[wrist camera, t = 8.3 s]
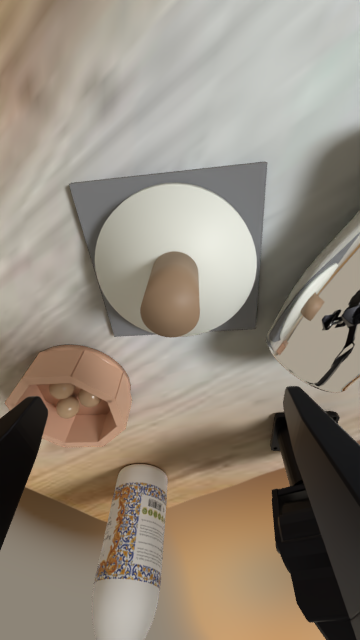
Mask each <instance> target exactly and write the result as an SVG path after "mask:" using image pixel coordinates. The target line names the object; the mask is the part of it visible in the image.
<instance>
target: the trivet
mask: <svg viewBox="0 0 360 640" xmlns="http://www.w3.org/2000/svg"><path fill="white" fill-rule="evenodd" d="M266 173H267V162H258V163H249V164H239V165H230V166H221V167H212V168H203V169H194V170H185V171H176V172H167V173H157V174H148V175H139V176H130V177H121V178H112V179H103V180H94V181H85V182H75V183H70V184H69V187H70V190H71V193H72V197H73V200H74V203H75V207H76V210H77V213H78V217H79V220H80V223H81V227H82V230H83V233H84V237H85V240H86V243H87V247H88V250H89V253H90V257H91V260H92V263H93V267H94V270H95V249H96V244H97V239H98V237H99V234H100V231H101V229H102V227H103V225H104V223H105V222H106V220H107V219H108V217H109V216H110V215H111V213H112V212H113V211H114V210H115V209H116V208H117V207H118V206H119V205H120V204H121V203H122V202H123V201H124V200H126V199H127V198H128V197H130V196H131V195H133V194H134V193H136V192H138V191H140V190H142V189H144V188H147V187H150V186H153V185H156V184H162V183H174V182H179V183H188V184H193V185H197V186H200V187H203V188H205V189H208V190H210V191H212V192H214V193H216V194H217V195H219V196H221V197H222V198H223V199H225V200H226V201H227V202H228V203H229V204H231V205H232V207H233V208H234V209H235V210H236V211H237V212H238V213H239V215H240V216H241V218H242V219H243V221H244V222H245V224H246V226H247V228H248V230H249V232H250V234H251V236H252V239H253V242H254V246H255V250H256V257H257V269H256V277H255V281H254V284H253V287H252V290H251V292H250V294H249V296H248V298H247V300H246V301H245V303H244V304H243V306H242V307H241V308H240V309H239V311H238V312H237V313H236V314H235V315H234V316H233V317H232V318H230V319H229V320H228V321H226V322H225V323H223V324H222V325H220V326H218V327H217V328H215V329H212V330H210V331H225V330H243V329H256V316H257V302H258V288H259V273H260V259H261V244H262V230H263V216H264V201H265V187H266ZM95 273H96V270H95ZM96 277H97V275H96ZM97 280H98V279H97ZM98 283H99V282H98ZM99 287H100V285H99ZM100 290H101V287H100ZM101 293H102V297H103V300H104V303H105V307H106V310H107V313H108V317H109V320H110V323H111V327H112V330H113V333H114V337H117V336H135V335H153V334H154V333H151V332H148V331H145V330H143V329H141V328H139V327H137V326H135V325H133V324H132V323H130V322H129V321H127V320H126V319H125V318H123V317H122V316H121V315H120V314H119V313H118V312H117V311H116V310H115V309H114V308H113V307H112V306H111V304H110V303H109V302H108V300H107V299H106V297H105V295H104V293H103V291H102V290H101Z"/></svg>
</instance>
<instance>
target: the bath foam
mask: <svg viewBox="0 0 360 640" xmlns="http://www.w3.org/2000/svg"><path fill="white" fill-rule="evenodd" d="M167 484H168V479H167V476H166V474H165V473H164V472H163V471H162V470H161V469H159V468H157V467H155V466H152V465H147V464H133V465H129V466H126V467H124V468H123V469H122V470H121V471H120V472H119V474H118V478H117V482H116V487H115V491H114V496H113V500H112V505H111V509H110V514H109V518H108V523H107V527H106V532H105V536H104V541H103V546H102V550H101V555H100V560H99V564H98V568H97V573H96V577H95V582H94V588H93V596H92V620H93V626H94V632H95V637H96V640H144V639H145V637H146V635H147V633H148V631H149V629H150V627H151V624H152V622H153V619H154V616H155V612H156V609H157V604H158V599H159V591H160V582H161V569H162V554H163V542H164V527H165V514H166V501H167Z"/></svg>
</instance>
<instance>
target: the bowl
mask: <svg viewBox="0 0 360 640" xmlns="http://www.w3.org/2000/svg"><path fill="white" fill-rule="evenodd" d="M130 390H131V384H130V380H129V377H128V375H127V373H126V372H125V370H124V369H123V368H122V367H121V366H120V365H119V364H118V363H117V362H116V361H115V360H114V359H112V358H111V357H109V356H108V355H106V354H104V353H102V352H100V351H98V350H95V349H92V348H89V347H85V346H80V345H59V346H55V347H51V348H49V349H46V350H45V351H43V352H40V353H39V354H38V355H37V357H36V358H35V360H34V361H33V363H32V364H31V365H30V367H29V368H28V370H27V371H26V373H25V374H24V376H23V377H22V378H21V380H20V381H19V383H18V384H17V386H16V387H15V388H14V390H13V391H12V393H11V394H10V396H9V397H8V399H7V400H6V401H5V404H6V406H7V407H8V409H9V410H12V409H13V408H14V407H15V406H17V405H18V404H19V403H20V402H21V401H23V400H24V399H25V398H27V397H29V396H39V397H41V399H42V400H43V402H44V404H45V405H46V407H47V409H48V418H47V421H46V425H45V429H44V432H43V436H42V438H43V439H45V440H48V441H50V442H52V443H55V444H57V445H60V446H62V447H103V446H105V445H106V444H107V443H109V442H110V441H111V440H112V439H114V438H115V437H116V436H117V435H118V434H120V433H121V432H122V431H123V430H125V429H126V425H127V421H128V416H129V412H130V408H131V403H132V398H131V394H130Z"/></svg>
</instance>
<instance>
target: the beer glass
mask: <svg viewBox="0 0 360 640" xmlns="http://www.w3.org/2000/svg"><path fill="white" fill-rule="evenodd" d="M266 343H267V346H268V348H269V350H270V352H271V353H272V355H273V356H274V357H275V358H276V360H277V361H278V362H279V363H280V364H281V365H282V366H283V367H284V368H285V369H286V370H288V371H289V372H290V373H291V374H293V375H294V376H296V377H297V378H298V379H300V380H302V381H303V382H305V383H307V384H309V385H311V386H313V387H315V388H317V389H320V390H323V391H327V392H332V393H340V392H343V391H345V390H347V389H348V387H349V386H350V385H352V384H353V383H354V382H355V381H357V380H358V379H359V378H360V210H359V212H358V213H357V214H356V215H355V216H354V217H353V218H352V219H351V220H350V222H349V223H348V224H347V225H346V226H345V227H344V228H343V229H342V230H341V231H340V232H339V233H338V234H337V236H336V237H335V238H334V239H333V240H332V241H331V242H330V243H329V244H328V245H327V246H326V248H325V249H324V250H323V251H322V252H321V253H320V254H319V255H318V257H317V258H316V259H315V260H314V261H313V263H312V264H311V265H310V266H309V267H308V269H307V270H306V271H305V272H304V274H303V275H302V277H301V278H300V279H299V281H298V282H297V284H296V285H295V286H294V288H293V290H292V291H291V293H290V294H289V296H288V298H287V299H286V301H285V303H284V304H283V306H282V308H281V310H280V312H279V313H278V315H277V317H276V319H275V321H274V323H273V325H272V327H271V328H270V330H269V332H268V333H267V335H266Z"/></svg>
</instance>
